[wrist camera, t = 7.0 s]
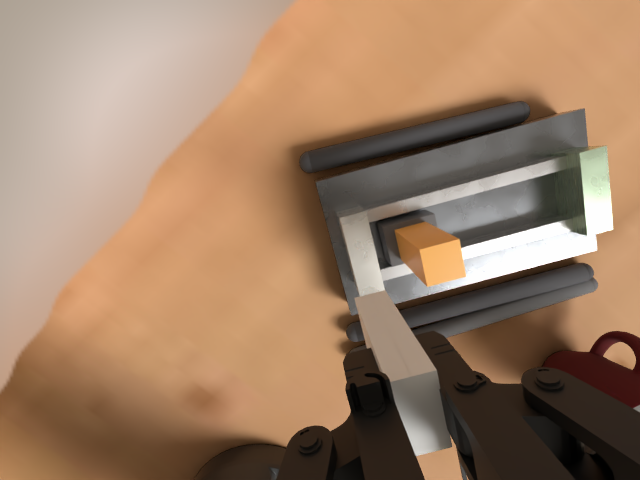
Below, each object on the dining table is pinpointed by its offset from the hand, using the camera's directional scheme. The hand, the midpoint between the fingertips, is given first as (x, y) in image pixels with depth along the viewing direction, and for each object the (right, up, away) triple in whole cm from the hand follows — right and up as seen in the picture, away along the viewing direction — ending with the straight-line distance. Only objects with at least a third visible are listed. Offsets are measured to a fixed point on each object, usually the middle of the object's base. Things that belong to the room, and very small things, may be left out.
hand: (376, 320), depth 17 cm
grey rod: (+11, -2, +17) cm, 21 cm away
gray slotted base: (+9, +6, +15) cm, 19 cm away
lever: (+4, +4, +12) cm, 14 cm away
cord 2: (+12, -4, +18) cm, 22 cm away
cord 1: (+5, +13, +14) cm, 20 cm away
